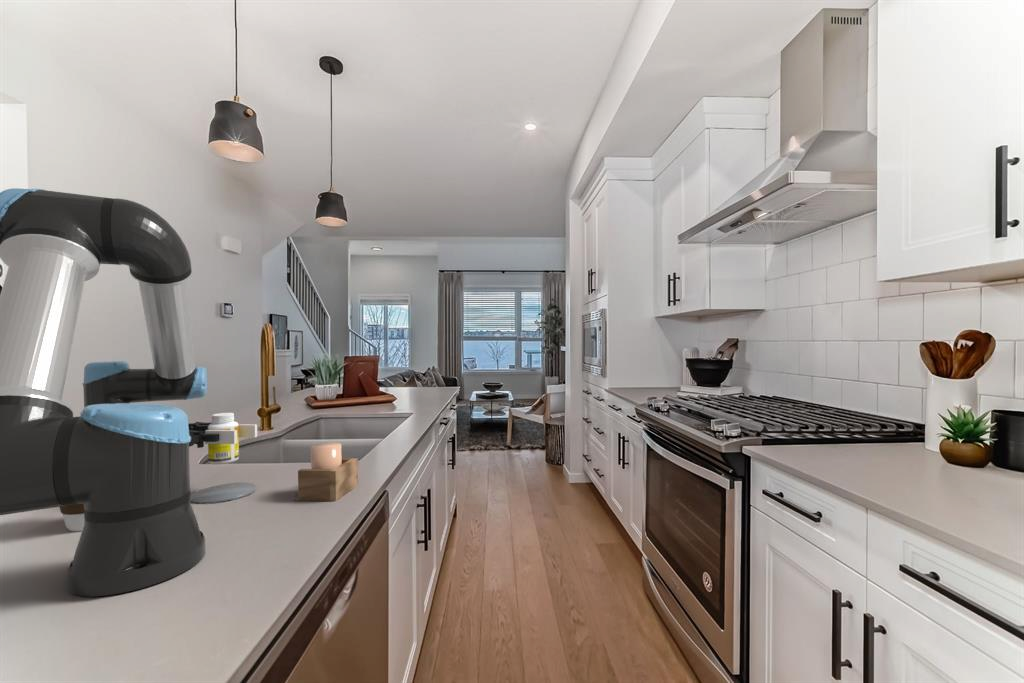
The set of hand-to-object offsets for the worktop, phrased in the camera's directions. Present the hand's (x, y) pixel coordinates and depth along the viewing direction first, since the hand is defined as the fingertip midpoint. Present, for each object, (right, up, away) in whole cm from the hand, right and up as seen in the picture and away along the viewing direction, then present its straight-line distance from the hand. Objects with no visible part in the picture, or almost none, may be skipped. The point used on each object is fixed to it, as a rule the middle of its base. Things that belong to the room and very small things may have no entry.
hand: (245, 433), depth 96 cm
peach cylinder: (+17, -12, 0) cm, 21 cm away
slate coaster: (-5, -13, 0) cm, 14 cm away
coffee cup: (-18, -13, -15) cm, 27 cm away
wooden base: (+17, -12, 0) cm, 21 cm away
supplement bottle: (-5, -6, +1) cm, 8 cm away
